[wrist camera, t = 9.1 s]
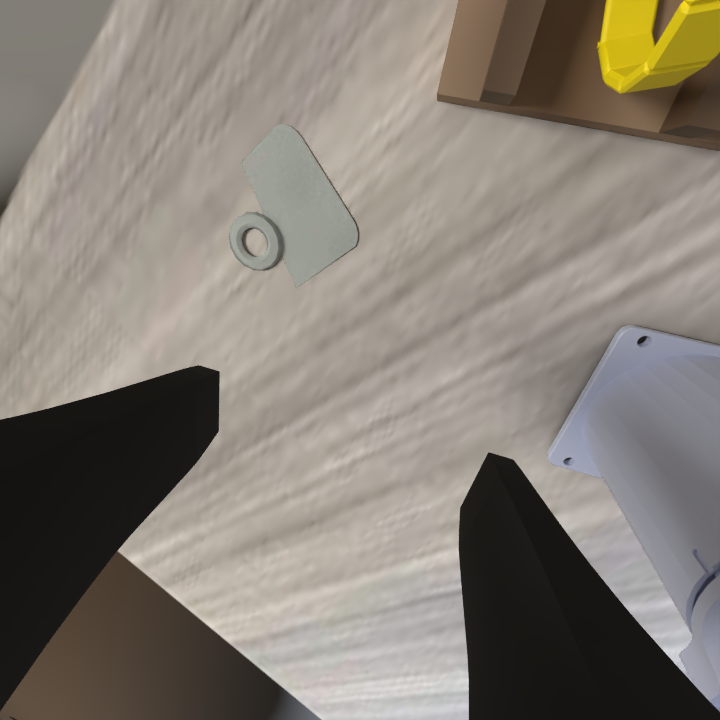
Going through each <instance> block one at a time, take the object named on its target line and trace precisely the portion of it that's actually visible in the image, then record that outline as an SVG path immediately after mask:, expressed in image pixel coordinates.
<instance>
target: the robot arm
mask: <svg viewBox="0 0 720 720" xmlns="http://www.w3.org/2000/svg"><path fill="white" fill-rule="evenodd" d="M643 336H647V338H646V340H645V341H644V342H643V343H640V344H637V341H638V339H639V338H640V337H643ZM219 373H220V372H219V371H216V370H212V369H209V368H206V367H202V366H199V365H198V366H194V367H189V368H186V369H182V370H179V371H175V372H172V373H168V374H165V375H162V376H159V377H156V378H152V379H149V380H146V381H143V382H139V383H136V384H133V385H130V386H126V387H123V388H120V389H117V390H113V391H110V392H107V393H103V394H100V395H96V396H93V397H89V398H85V399H82V400H78V401H74V402H71V403H67V404H64V405H60V406H56V407H53V408H49V409H45V410H41V411H37V412H33V413H28V414H24V415H20V416H16V417H11V418H6V419H2V420H0V711H1V709H2V708H3V706H4V705H5V704H6V702H7V701H8V699H9V698H10V696H11V695H12V693H13V692H14V691H15V689H16V688H17V686H18V685H19V683H20V682H21V681H22V679H23V678H24V676H25V675H26V673H27V672H28V671H29V669H30V668H31V666H32V665H33V663H34V662H35V660H36V659H37V658H38V656H39V655H40V653H41V652H42V650H43V649H44V648H45V646H46V645H47V643H48V642H49V641H50V639H51V638H52V636H53V635H54V634H55V632H56V631H57V630H58V628H59V627H60V626H61V624H62V623H63V622H64V620H65V619H66V617H67V616H68V615H69V613H70V612H71V611H72V609H73V608H74V607H75V605H76V604H77V602H78V601H79V600H80V598H81V597H82V596H83V594H84V593H85V592H86V590H87V589H88V588H89V586H90V585H91V584H92V582H93V581H94V580H95V579H96V577H97V576H98V574H99V573H100V572H101V571H102V570H103V568H104V567H105V566H106V564H107V563H108V562H109V560H110V559H111V558H112V556H113V555H114V554H115V553H116V552H117V550H118V549H119V548H120V547H121V546H122V545H123V543H124V542H125V541H126V540H127V539H128V538H129V536H130V535H131V534H132V533H133V532H134V531H135V530H136V529H137V528H138V526H139V525H140V524H141V523H142V522H143V521H144V520H145V519H146V518H147V517H148V516H149V514H150V513H151V512H152V511H153V510H154V509H155V508H156V507H157V506H158V505H159V504H160V502H161V501H162V500H163V499H164V498H165V497H166V496H167V495H168V494H169V493H170V492H171V490H172V489H173V488H174V487H175V486H176V485H177V484H178V483H179V482H180V481H181V479H182V478H183V477H184V476H185V475H186V474H187V473H188V472H189V471H190V469H191V468H192V467H193V466H194V465H195V464H196V463H197V461H198V460H199V459H200V457H201V456H202V454H203V453H204V452H205V450H206V449H207V447H208V446H209V445H210V443H211V442H212V440H213V439H214V437H215V436H216V434H217V433H218V431H219ZM547 457H548V460H549V462H550V463H551V464H553V465H556V466H559V467H563V468H566V469H570V470H574V471H577V472H581V473H584V474H588V475H591V476H595V477H599V478H602V479H603V480H604V481H605V483H606V485H607V487H608V488H609V490H610V492H611V494H612V495H613V497H614V499H615V501H616V502H617V504H618V506H619V508H620V509H621V511H622V513H623V515H624V516H625V518H626V520H627V522H628V523H629V525H630V527H631V529H632V530H633V532H634V534H635V536H636V537H637V539H638V541H639V543H640V544H641V546H642V548H643V550H644V551H645V553H646V555H647V557H648V558H649V560H650V562H651V564H652V565H653V567H654V569H655V571H656V572H657V574H658V576H659V578H660V579H661V581H662V583H663V585H664V586H665V588H666V590H667V592H668V593H669V595H670V597H671V599H672V600H673V602H674V604H675V606H676V607H677V609H678V611H679V613H680V614H681V616H682V618H683V620H684V621H685V623H686V625H687V627H688V628H689V630H690V632H691V633H692V640H691V643H690V644H689V645H688V646H687V648H685V649H684V650H683V651H681V652H680V654H679V657H680V659H681V661H682V663H683V665H684V667H685V669H686V671H687V673H688V675H689V676H690V678H691V680H692V682H693V683H692V682H691V681H690V680H689V679H688V678H687V677H686V676H685V675H684V673H683V672H682V671H681V670H680V669H679V668H678V667H677V666H676V665H675V664H674V662H673V661H672V660H671V659H670V658H669V657H668V656H667V655H666V653H665V652H664V651H663V650H662V649H661V648H660V647H659V646H658V644H657V643H656V642H655V641H654V640H653V639H652V638H651V637H650V635H649V634H648V633H647V632H646V631H645V630H644V629H643V628H642V626H641V625H640V624H639V623H638V622H637V621H636V620H635V618H634V617H633V616H632V615H631V614H630V613H629V611H628V610H627V609H626V608H625V607H624V605H623V604H622V603H621V602H620V601H619V599H618V598H617V597H616V596H615V595H614V593H613V592H612V591H611V590H610V588H609V587H608V586H607V585H606V583H605V582H604V581H603V580H602V578H601V577H600V576H599V575H598V573H597V572H596V571H595V570H594V568H593V567H592V566H591V565H590V563H589V562H588V561H587V559H586V558H585V557H584V556H583V554H582V553H581V552H580V550H579V549H578V548H577V546H576V545H575V544H574V542H573V541H572V540H571V538H570V537H569V536H568V534H567V533H566V532H565V530H564V529H563V528H562V526H561V525H560V524H559V522H558V521H557V519H556V518H555V517H554V515H553V514H552V512H551V511H550V510H549V508H548V507H547V505H546V504H545V503H544V501H543V500H542V498H541V497H540V496H539V494H538V493H537V491H536V490H535V489H534V487H533V486H532V484H531V483H530V482H529V480H528V479H527V477H526V476H525V475H524V473H523V472H522V470H521V469H520V468H519V466H518V465H517V464H516V463H515V461H514V460H513V459H509V458H506V457H503V456H499V455H496V454H493V453H489V452H488V454H487V456H486V458H485V460H484V462H483V464H482V466H481V468H480V470H479V472H478V474H477V476H476V478H475V480H474V482H473V484H472V486H471V488H470V490H469V492H468V494H467V496H466V498H465V500H464V502H463V504H462V505H461V507H460V525H459V558H460V571H461V584H462V595H463V607H464V619H465V630H466V642H467V654H468V673H469V720H720V345H717V344H712V343H708V342H704V341H699V340H695V339H691V338H687V337H682V336H678V335H674V334H669V333H665V332H661V331H657V330H652V329H648V328H644V327H639V326H635V325H628V326H624V327H622V328H621V329H619V330H618V332H617V333H616V334H615V336H614V338H613V340H612V341H611V343H610V345H609V346H608V348H607V350H606V352H605V353H604V355H603V357H602V359H601V360H600V362H599V364H598V366H597V367H596V369H595V371H594V372H593V374H592V376H591V378H590V379H589V381H588V383H587V385H586V386H585V388H584V390H583V391H582V393H581V395H580V397H579V398H578V400H577V402H576V404H575V405H574V407H573V409H572V410H571V412H570V414H569V416H568V417H567V419H566V421H565V423H564V424H563V426H562V428H561V430H560V431H559V433H558V435H557V436H556V438H555V440H554V442H553V443H552V445H551V447H550V449H549V450H548V452H547ZM566 458H571V459H570V460H564V459H566Z"/></svg>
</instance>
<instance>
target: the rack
mask: <svg viewBox="0 0 720 720" xmlns="http://www.w3.org/2000/svg"><path fill="white" fill-rule="evenodd" d="M683 1H684V0H659V2H658V7H657V13H656V18H655V23H654V29H653V37H654V42H655V46H656V44H657V42H658V41H659V39H660V37H661V36H662V34H663V32H664V31H665V29H666V27H667V26H668V24H669V22H670V21H671V19H672V17H673V16H674V14H675V12H676V11H677V9H678V8H679V6H680V4H681V3H682V2H683ZM605 4H606V0H459V1H458V6H457V10H456V14H455V19H454V23H453V27H452V32H451V36H450V40H449V45H448V49H447V53H446V58H445V62H444V66H443V70H442V75H441V79H440V83H439V88H438V92H437V101H442V102H448V103H454V104H459V105H465V106H471V107H476V108H482V109H487V110H493V111H499V112H504V113H510V114H515V115H521V116H527V117H532V118H538V119H543V120H549V121H555V122H560V123H566V124H572V125H577V126H583V127H588V128H594V129H600V130H605V131H611V132H616V133H622V134H628V135H633V136H639V137H644V138H650V139H656V140H661V141H667V142H672V143H678V144H684V145H689V146H695V147H701V148H706V149H712V150H720V52H719V54H718V55H717V56H716V57H715V58H714V59H712V61H711V62H710V63H709V64H708V65H707V66H705V67H703V68H702V69H700V70H699V71H697V72H695V73H694V74H692V75H691V76H689V77H687V78H686V79H684V80H682V81H681V82H679V83H678V84H676V85H673V86H667V87H661V88H654V89H648V90H641V91H635V92H629V93H622V94H620V93H618V92H616V91H615V90H613V89H612V88H610V87H609V86H607V85H606V84H605V82H604V80H603V77H602V72H601V66H600V60H599V54H598V49H599V48H598V49H597V45H598V42H600V39H601V32H602V25H603V18H604V11H605Z"/></svg>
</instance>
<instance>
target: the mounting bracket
mask: <svg viewBox="0 0 720 720" xmlns="http://www.w3.org/2000/svg"><path fill="white" fill-rule="evenodd" d="M241 165H242V167H243V169H244V171H245V174H246V176H247V178H248V180H249V183H250V185H251V187H252V189H253V192H254V194H255V196H256V198H257V201H258V203H259V205H260V207H261V210H262V212H263V214H264V215H262V214H260V213H258V212H246V213H244V214H242V215H241V216H239V217H237V219H236V220H235V221H234V223H233V224H232V226H231V229H230V234H229V240H230V246H231V249H232V251H233V253H234V255H235V257H236V258H237V259H238V260H239V261H240V262H241V263H242V264H243V265H244V266H247V267H249V268H251V269H253V270H266V269H269V268H271V267H273V266H274V265H275V264H276V262H277V261H278V260H279V258H280V255H282V257H283V259H284V261H285V264H286V266H287V268H288V270H289V273H290V275H291V277H292V279H293V282H294V284H295V286H296V288H297V287H299V286H300V285H302V284H303V283H304V282H306V281H307V280H309V279H310V278H311V277H313V276H314V275H316V274H317V273H318V272H320V271H321V270H323V269H324V268H325V267H327V266H328V265H330V264H331V263H333V262H334V261H335V260H337V259H338V258H340V257H341V256H342V255H344V254H345V253H347V252H348V251H349V250H351V249H352V248H354V247H355V246H356V244H357V241H358V230H357V226H356V224H355V222H354V220H353V218H352V217H351V215H350V213H349V212H348V210H347V209H346V207H345V205H344V204H343V202H342V201H341V199H340V197H339V196H338V194H337V193H336V191H335V189H334V188H333V186H332V185H331V183H330V181H329V180H328V178H327V177H326V175H325V173H324V172H323V170H322V169H321V167H320V165H319V164H318V162H317V161H316V159H315V157H314V156H313V154H312V153H311V151H310V149H309V148H308V146H307V145H306V143H305V141H304V140H303V138H302V137H301V135H300V134H299V133H298V132H297V131H296V130H295V129H293V128H292V127H291V126H288V125H285V124H278V125H277V126H276V127H275V128H274V129H273V130H272V131H271V132H270V133H269V134H268V135H267V136H266V137H265V138H264V139H263V140H262V141H261V142H260V143H259V144H258V145H257V146H256V147H255V148H254V149H253V150H252V151H251V152H250V154H249V155H248V156H247V157H246V158H245V159H244V160H243V161H242V162H241ZM249 228H256V229H258V230H260V231H261V232H262V233H263V234H264V236H265V238H266V240H267V249H266V252H265V253H264V254H263V255H262V256H260V257H255V256H253V255H250V254H249V253H248V252H247V251H246V249H245V247H244V245H243V234H244V232H245V231H246V230H247V229H249Z"/></svg>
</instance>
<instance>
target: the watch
mask: <svg viewBox="0 0 720 720" xmlns="http://www.w3.org/2000/svg"><path fill="white" fill-rule="evenodd" d="M658 2H659V0H606V4H605V11H604V18H603V25H602V32H601V39H600V42H598V45H597V49H598V48H599V49H598V54H599V60H600V66H601V72H602V77H603V80H604V82H605V84H606V85H607V86H609V87H610V88H612V89H613V90H615V91H616V92H618V93H620V94H622V93H629V92H635V91H641V90H648V89H654V88H661V87H667V86H673V85H676V84H678V83H679V82H681V81H682V80H684V79H686V78H687V77H689V76H691V75H692V74H694V73H695V72H697V71H699V70H700V69H702V68H703V67H705V66H707V65H708V64H709V63H710V62H711V61H712V59H714V58H715V57H716V56H717V55H718V54H719V52H720V0H684V1H683V2H682V3H681V4H680V6H679V8H678V9H677V11H676V12H675V14H674V16H673V17H672V19H671V21H670V22H669V24H668V26H667V27H666V29H665V31H664V32H663V34H662V36H661V37H660V39H659V41H658V42H657V44H656V46H655V42H654V37H653V29H654V23H655V18H656V13H657V7H658Z"/></svg>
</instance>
